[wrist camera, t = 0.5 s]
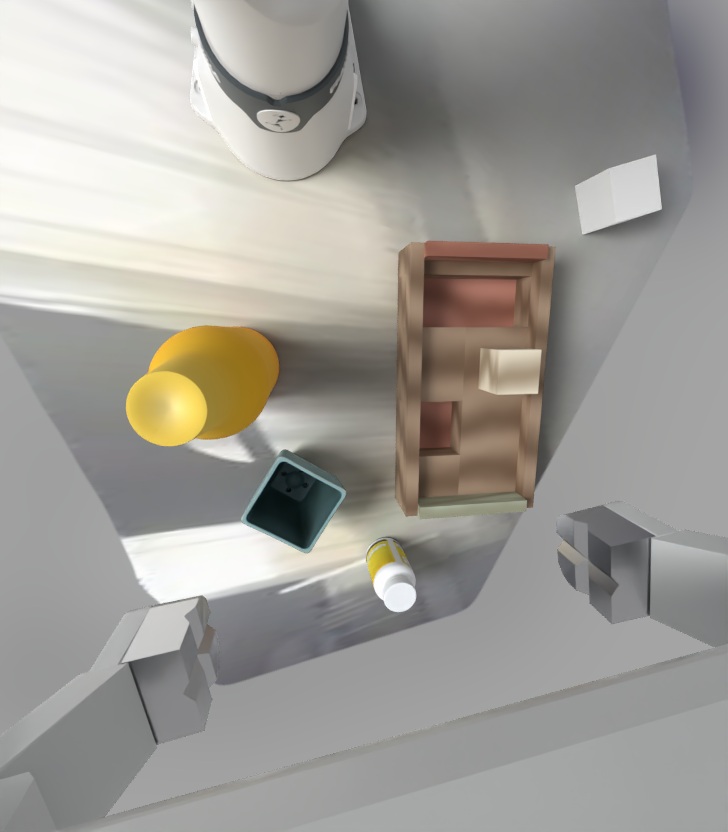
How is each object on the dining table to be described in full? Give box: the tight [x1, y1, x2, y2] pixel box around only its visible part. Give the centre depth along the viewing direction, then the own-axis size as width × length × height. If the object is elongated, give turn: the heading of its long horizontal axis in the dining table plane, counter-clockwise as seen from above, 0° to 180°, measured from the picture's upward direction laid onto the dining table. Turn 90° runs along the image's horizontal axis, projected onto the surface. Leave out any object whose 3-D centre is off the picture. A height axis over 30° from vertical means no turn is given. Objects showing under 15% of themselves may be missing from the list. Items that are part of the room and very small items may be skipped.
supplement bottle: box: [366, 538, 416, 612], centre depth 54 cm, size 5×5×10 cm
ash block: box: [478, 348, 542, 395], centre depth 49 cm, size 5×5×5 cm
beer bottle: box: [126, 326, 279, 446], centre depth 36 cm, size 9×9×29 cm
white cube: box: [575, 155, 662, 235], centre depth 50 cm, size 6×6×6 cm
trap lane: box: [395, 241, 555, 519], centre depth 51 cm, size 32×17×7 cm, turn 0°
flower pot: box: [241, 450, 347, 553], centre depth 50 cm, size 9×9×9 cm
